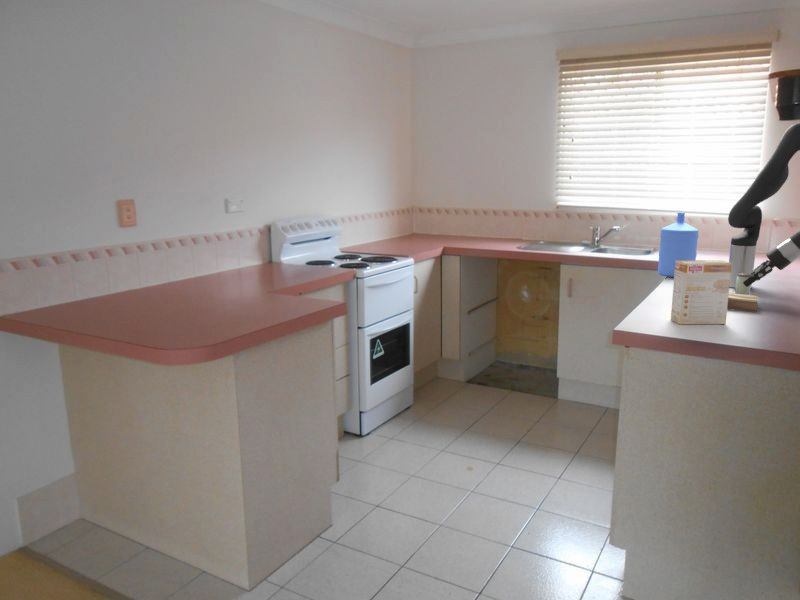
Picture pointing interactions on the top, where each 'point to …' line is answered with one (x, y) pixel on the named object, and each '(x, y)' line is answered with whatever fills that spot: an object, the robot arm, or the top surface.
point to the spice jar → (740, 286)
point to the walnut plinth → (742, 302)
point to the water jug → (676, 245)
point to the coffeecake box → (701, 291)
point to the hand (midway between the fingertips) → (745, 283)
